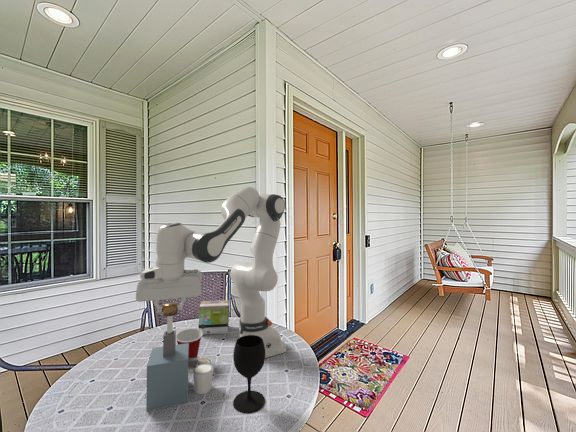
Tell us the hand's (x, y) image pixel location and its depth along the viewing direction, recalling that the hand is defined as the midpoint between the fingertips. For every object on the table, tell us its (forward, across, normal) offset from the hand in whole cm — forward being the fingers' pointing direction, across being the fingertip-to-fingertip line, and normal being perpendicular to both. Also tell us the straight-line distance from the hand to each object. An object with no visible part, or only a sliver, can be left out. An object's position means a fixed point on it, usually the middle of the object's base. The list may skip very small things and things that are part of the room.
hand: (169, 311), depth 90 cm
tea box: (+28, -18, -48) cm, 59 cm away
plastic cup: (+28, -6, -19) cm, 35 cm away
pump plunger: (+8, 0, 0) cm, 8 cm away
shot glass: (+28, -11, 0) cm, 30 cm away
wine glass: (+28, -25, +12) cm, 40 cm away
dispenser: (+28, -2, 0) cm, 28 cm away
